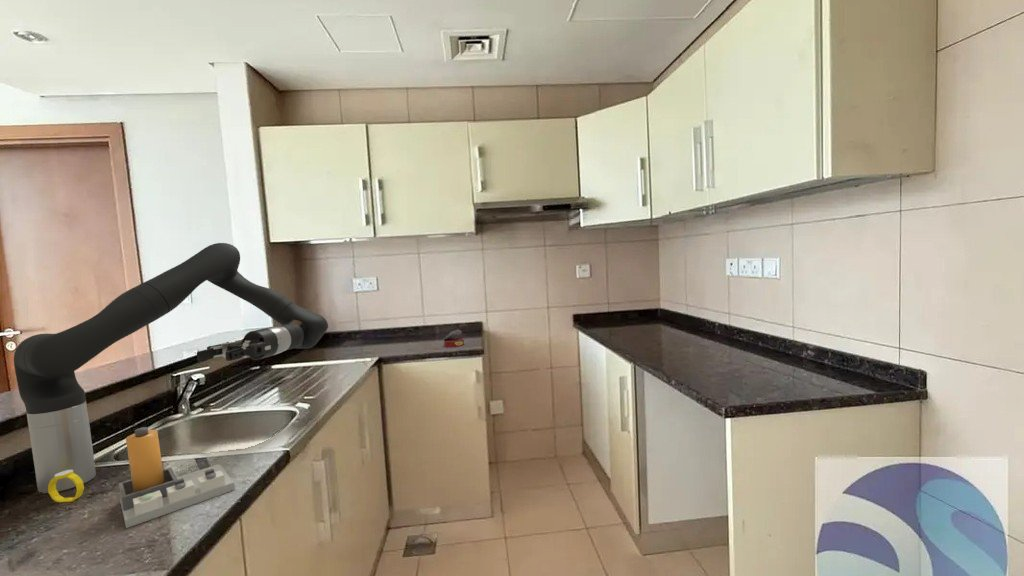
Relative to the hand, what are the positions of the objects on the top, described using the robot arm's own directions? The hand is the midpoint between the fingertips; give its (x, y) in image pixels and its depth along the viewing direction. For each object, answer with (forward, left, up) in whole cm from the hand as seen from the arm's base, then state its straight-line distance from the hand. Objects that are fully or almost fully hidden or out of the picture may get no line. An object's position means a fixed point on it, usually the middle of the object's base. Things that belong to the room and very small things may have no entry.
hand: (212, 356), depth 105 cm
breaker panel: (+11, -10, -25) cm, 29 cm away
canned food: (-62, +114, -25) cm, 132 cm away
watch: (-6, -26, -25) cm, 37 cm away
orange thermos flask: (+9, -14, -23) cm, 29 cm away
